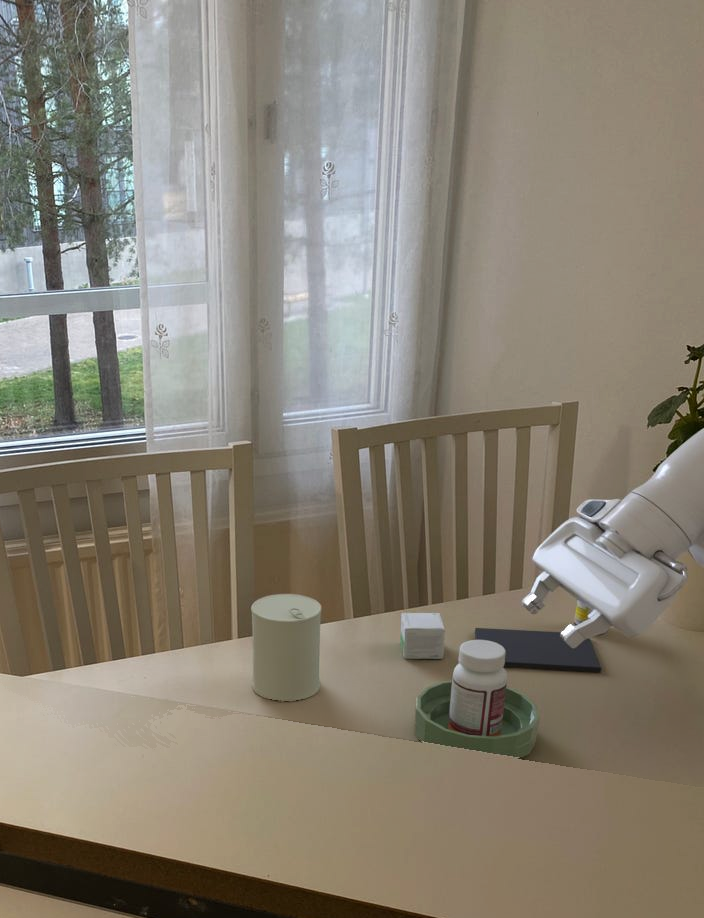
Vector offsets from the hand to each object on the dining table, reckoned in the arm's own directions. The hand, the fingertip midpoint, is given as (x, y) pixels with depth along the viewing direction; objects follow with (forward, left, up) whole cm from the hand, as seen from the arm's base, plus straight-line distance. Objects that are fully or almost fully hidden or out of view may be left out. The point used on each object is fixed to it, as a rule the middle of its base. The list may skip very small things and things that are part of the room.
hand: (545, 625), depth 105 cm
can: (+31, -7, -14) cm, 35 cm away
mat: (-3, -22, -14) cm, 27 cm away
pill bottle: (+7, +3, -14) cm, 16 cm away
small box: (+13, -20, -14) cm, 28 cm away
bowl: (+7, +3, -14) cm, 16 cm away
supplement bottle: (-12, -31, -14) cm, 37 cm away
